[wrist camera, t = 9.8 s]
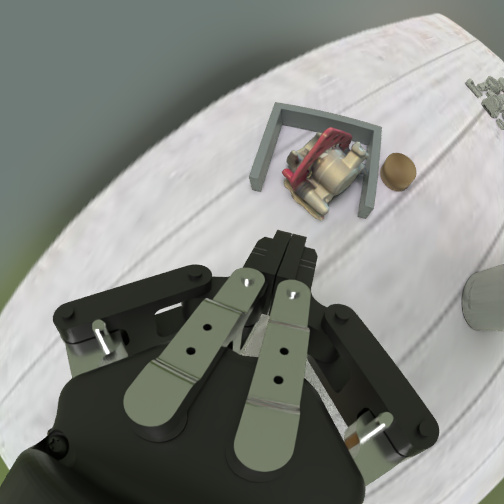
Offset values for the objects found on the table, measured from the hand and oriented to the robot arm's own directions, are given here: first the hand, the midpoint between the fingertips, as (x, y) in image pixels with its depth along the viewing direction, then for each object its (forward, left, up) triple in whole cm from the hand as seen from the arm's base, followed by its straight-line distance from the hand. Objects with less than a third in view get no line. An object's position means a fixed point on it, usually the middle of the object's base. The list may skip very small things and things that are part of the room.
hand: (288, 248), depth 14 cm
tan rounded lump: (-12, -20, -22) cm, 32 cm away
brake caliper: (-1, -16, -22) cm, 28 cm away
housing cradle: (0, -18, -22) cm, 29 cm away
